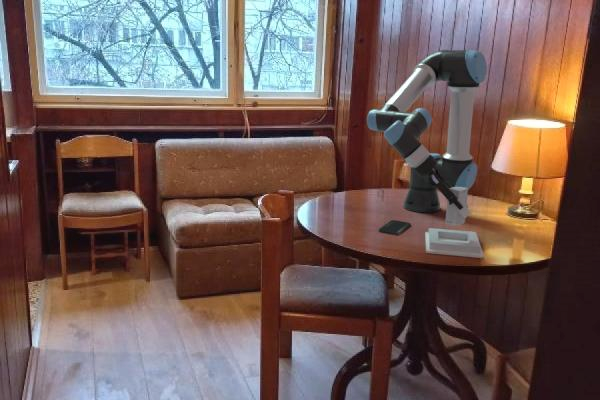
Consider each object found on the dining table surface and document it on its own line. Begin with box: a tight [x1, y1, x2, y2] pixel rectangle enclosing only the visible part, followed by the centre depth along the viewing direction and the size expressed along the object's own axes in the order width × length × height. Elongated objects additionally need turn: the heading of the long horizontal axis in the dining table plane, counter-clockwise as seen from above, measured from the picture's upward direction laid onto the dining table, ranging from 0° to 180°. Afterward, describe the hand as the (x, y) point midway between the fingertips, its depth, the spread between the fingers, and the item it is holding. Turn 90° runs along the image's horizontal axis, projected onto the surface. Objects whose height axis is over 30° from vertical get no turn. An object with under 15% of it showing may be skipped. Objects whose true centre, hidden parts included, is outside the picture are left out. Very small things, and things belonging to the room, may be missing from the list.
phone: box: [378, 219, 411, 236], centre depth 199 cm, size 8×1×15 cm
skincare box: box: [444, 186, 469, 227], centre depth 178 cm, size 6×4×12 cm
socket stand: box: [424, 227, 485, 259], centre depth 181 cm, size 20×18×3 cm
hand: (466, 212), depth 178 cm, fingers closed on skincare box, 7 cm apart
